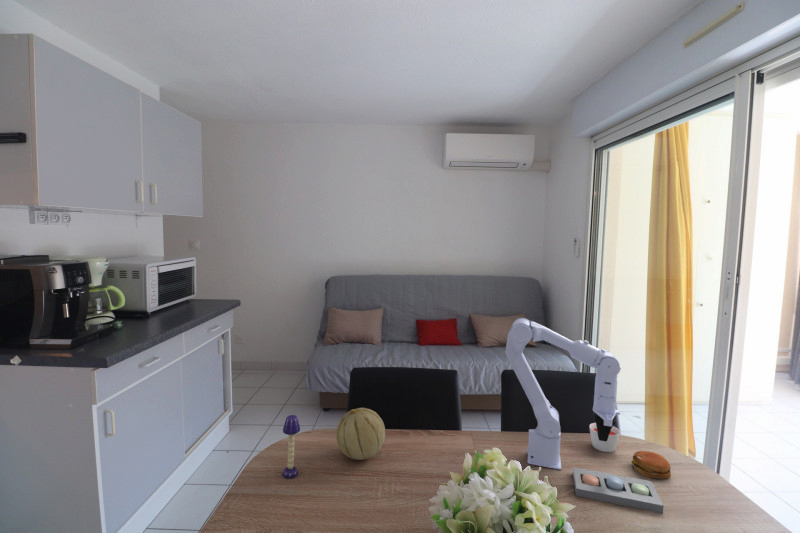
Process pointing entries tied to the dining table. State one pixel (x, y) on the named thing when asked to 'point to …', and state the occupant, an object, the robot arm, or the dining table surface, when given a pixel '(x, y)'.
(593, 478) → the terracotta button
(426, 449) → the dining table surface
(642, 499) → the button panel
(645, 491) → the green button
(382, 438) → the cantaloupe
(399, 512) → the dining table surface
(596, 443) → the candle
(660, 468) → the burger
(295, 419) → the toy lamp
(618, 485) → the blue button
